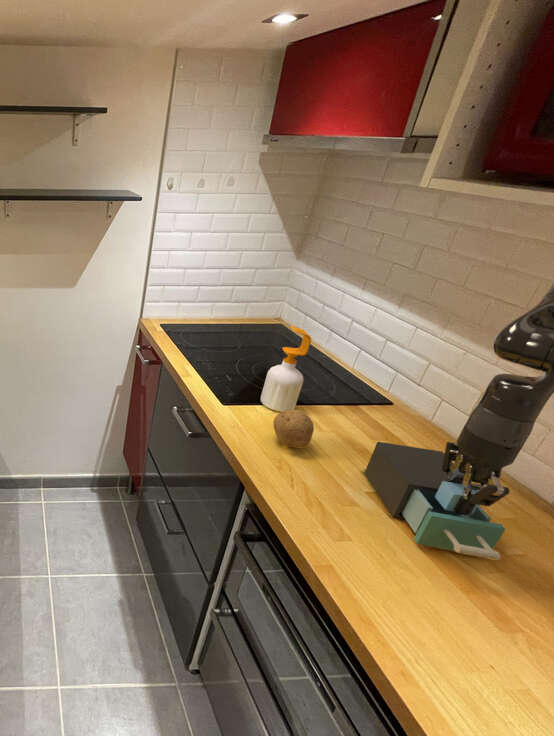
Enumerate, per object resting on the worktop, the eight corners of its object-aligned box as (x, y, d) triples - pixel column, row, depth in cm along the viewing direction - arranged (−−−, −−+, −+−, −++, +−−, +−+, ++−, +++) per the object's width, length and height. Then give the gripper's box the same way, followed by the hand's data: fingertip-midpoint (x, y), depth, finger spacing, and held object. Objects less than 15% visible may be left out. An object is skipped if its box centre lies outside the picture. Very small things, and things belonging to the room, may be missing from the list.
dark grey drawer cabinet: (464, 530, 90) (484, 496, 86) (392, 517, 93) (409, 483, 89) (426, 483, 103) (442, 451, 99) (364, 472, 105) (377, 441, 102)
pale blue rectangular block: (461, 501, 87) (470, 485, 85) (472, 515, 83) (482, 498, 82) (434, 496, 88) (442, 480, 86) (445, 510, 84) (454, 493, 83)
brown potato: (274, 429, 121) (284, 397, 117) (311, 443, 115) (323, 411, 111) (263, 444, 115) (273, 411, 111) (302, 460, 109) (314, 426, 105)
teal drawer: (506, 580, 79) (526, 551, 76) (431, 565, 82) (447, 536, 79) (446, 506, 95) (461, 480, 92) (385, 496, 97) (397, 469, 94)
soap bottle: (256, 394, 137) (276, 320, 127) (288, 398, 135) (311, 323, 125) (264, 410, 129) (287, 333, 119) (298, 414, 127) (324, 336, 117)
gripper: (446, 406, 85) (411, 476, 93) (496, 452, 73) (452, 529, 80) (493, 413, 84) (454, 483, 91) (553, 461, 71) (503, 539, 78)
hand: (454, 504), depth 85 cm, fingers closed on pale blue rectangular block, 3 cm apart
